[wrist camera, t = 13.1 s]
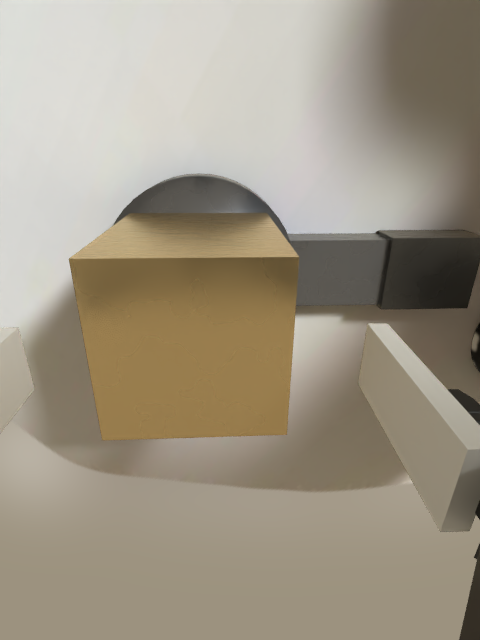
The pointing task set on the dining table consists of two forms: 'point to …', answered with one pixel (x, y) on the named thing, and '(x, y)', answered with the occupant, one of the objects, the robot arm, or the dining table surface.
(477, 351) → the white-spotted black cylinder
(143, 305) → the golden tan block
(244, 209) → the grey handled disc
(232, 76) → the dining table surface
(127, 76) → the dining table surface
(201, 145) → the dining table surface
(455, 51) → the dining table surface
